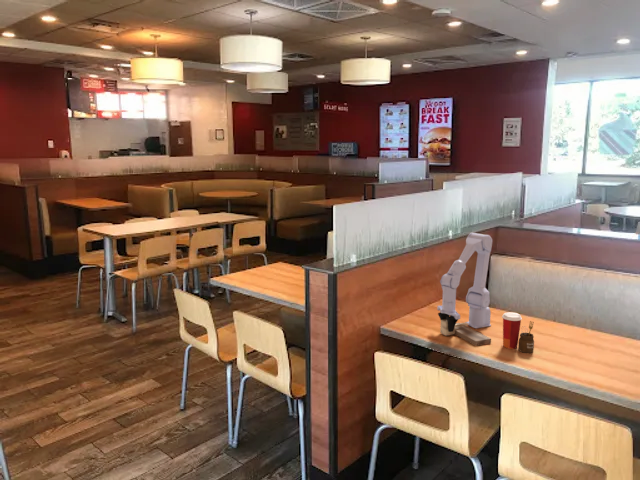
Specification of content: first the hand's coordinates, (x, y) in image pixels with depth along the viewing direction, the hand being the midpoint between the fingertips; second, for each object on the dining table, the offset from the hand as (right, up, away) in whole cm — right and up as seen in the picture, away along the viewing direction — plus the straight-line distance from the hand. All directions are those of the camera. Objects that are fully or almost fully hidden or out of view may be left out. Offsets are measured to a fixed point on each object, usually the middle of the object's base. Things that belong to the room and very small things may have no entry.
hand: (447, 329), depth 229 cm
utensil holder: (+28, -6, -18) cm, 34 cm away
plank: (+8, -2, -1) cm, 9 cm away
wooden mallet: (+4, -1, +2) cm, 4 cm away
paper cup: (+23, -5, -14) cm, 27 cm away
